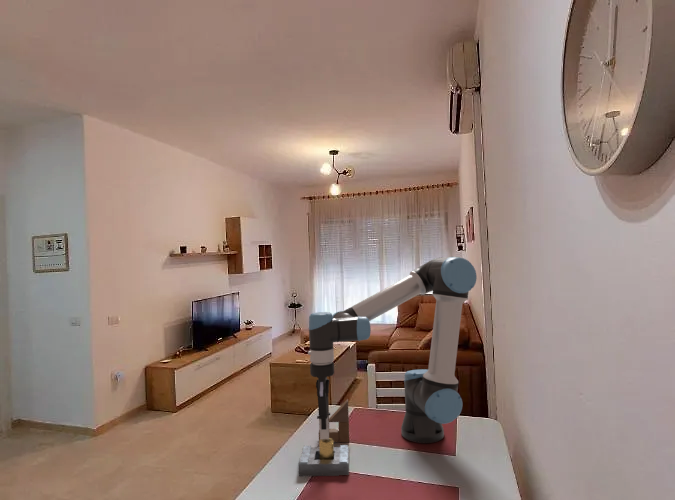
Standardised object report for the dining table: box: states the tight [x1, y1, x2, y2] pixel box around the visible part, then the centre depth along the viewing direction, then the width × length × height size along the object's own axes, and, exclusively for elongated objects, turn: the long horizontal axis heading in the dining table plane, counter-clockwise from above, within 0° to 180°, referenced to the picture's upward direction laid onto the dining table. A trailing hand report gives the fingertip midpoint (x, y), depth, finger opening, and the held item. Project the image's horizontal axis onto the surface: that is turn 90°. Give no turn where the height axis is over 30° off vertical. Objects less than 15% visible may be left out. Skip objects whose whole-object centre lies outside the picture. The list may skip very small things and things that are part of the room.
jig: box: [298, 444, 350, 477], centre depth 127 cm, size 15×11×4 cm
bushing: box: [318, 438, 335, 460], centre depth 127 cm, size 4×4×8 cm
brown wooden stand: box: [318, 398, 350, 443], centre depth 145 cm, size 4×11×18 cm, turn 87°
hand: (324, 438), depth 127 cm, fingers closed
